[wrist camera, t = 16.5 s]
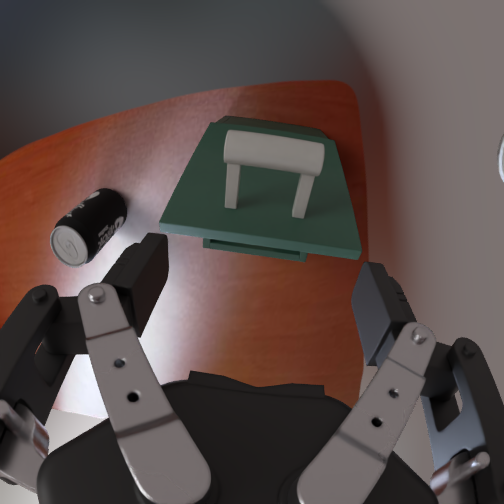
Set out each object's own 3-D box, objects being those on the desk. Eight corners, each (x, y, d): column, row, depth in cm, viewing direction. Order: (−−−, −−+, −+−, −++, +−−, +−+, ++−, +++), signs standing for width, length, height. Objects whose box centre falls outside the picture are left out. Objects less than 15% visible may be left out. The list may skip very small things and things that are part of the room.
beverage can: (118, 180, 40) (74, 216, 30) (135, 220, 43) (98, 266, 33) (85, 193, 41) (39, 230, 31) (102, 230, 44) (63, 274, 34)
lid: (358, 260, 17) (394, 181, 13) (159, 232, 17) (150, 145, 13) (332, 147, 27) (346, 93, 23) (210, 129, 27) (213, 73, 23)
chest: (300, 227, 42) (305, 262, 35) (215, 215, 42) (202, 247, 34) (319, 129, 35) (332, 142, 27) (225, 115, 35) (211, 125, 27)
